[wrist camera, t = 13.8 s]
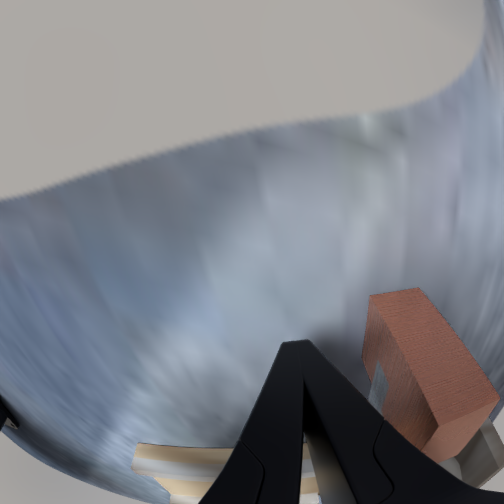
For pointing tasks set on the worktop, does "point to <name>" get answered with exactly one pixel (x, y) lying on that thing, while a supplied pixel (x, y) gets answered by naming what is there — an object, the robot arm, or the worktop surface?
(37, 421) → the worktop surface
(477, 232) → the worktop surface
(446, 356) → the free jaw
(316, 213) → the worktop surface
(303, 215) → the worktop surface
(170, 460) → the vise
